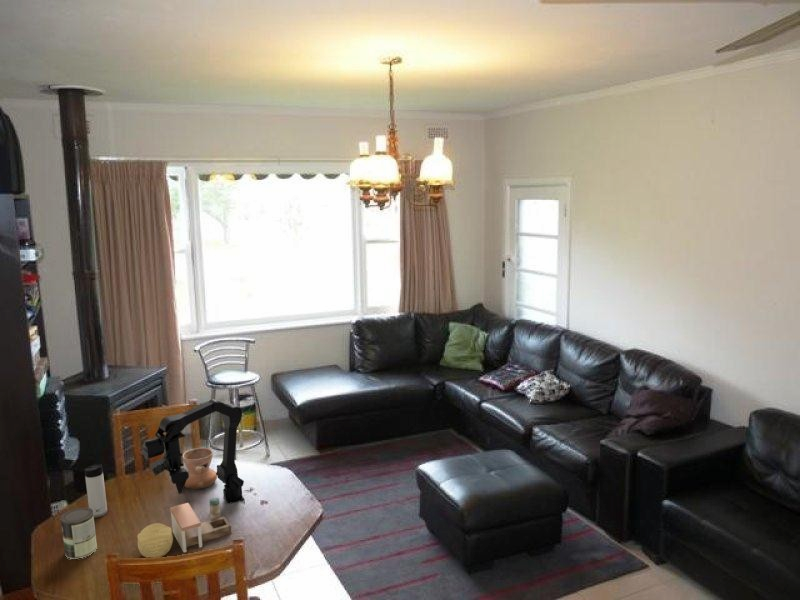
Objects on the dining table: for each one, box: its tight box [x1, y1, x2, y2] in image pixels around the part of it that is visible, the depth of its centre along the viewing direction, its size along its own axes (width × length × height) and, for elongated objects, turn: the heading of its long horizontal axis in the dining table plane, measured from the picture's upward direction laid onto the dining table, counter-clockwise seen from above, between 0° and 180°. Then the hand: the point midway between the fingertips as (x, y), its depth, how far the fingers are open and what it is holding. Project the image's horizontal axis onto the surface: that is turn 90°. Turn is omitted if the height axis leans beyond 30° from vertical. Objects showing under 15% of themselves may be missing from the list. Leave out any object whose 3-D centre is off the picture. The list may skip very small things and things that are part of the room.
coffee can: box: [60, 507, 98, 560], centre depth 224 cm, size 10×10×14 cm
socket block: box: [185, 515, 233, 548], centre depth 234 cm, size 16×8×3 cm, turn 122°
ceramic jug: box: [182, 447, 218, 490], centre depth 273 cm, size 18×14×14 cm
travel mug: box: [84, 463, 108, 518], centre depth 249 cm, size 6×7×20 cm
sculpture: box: [136, 522, 174, 559], centre depth 222 cm, size 11×12×11 cm
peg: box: [208, 497, 221, 520], centre depth 244 cm, size 4×4×8 cm
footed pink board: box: [169, 502, 203, 553], centre depth 231 cm, size 6×17×10 cm, turn 32°
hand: (177, 488), depth 243 cm, fingers open, 9 cm apart
